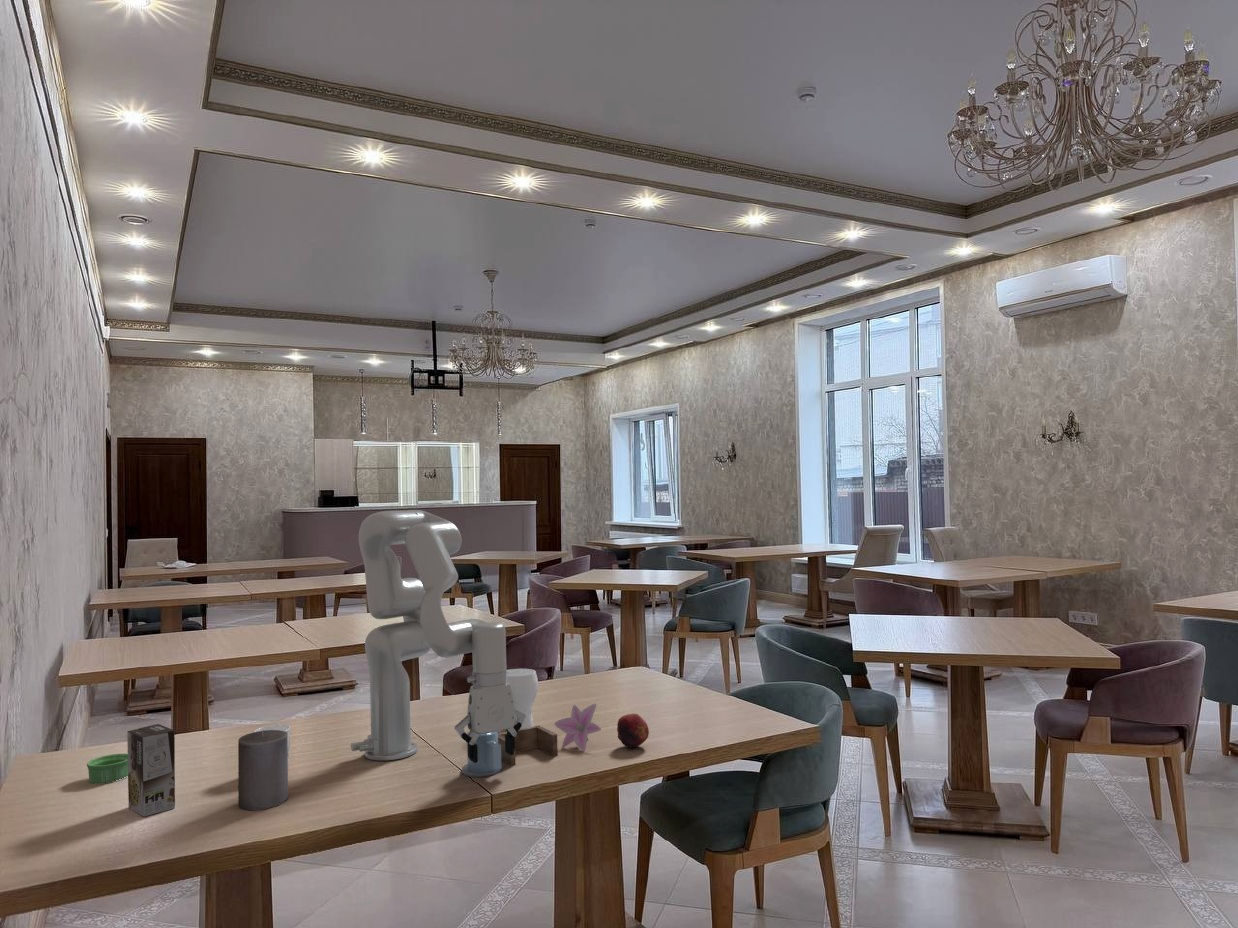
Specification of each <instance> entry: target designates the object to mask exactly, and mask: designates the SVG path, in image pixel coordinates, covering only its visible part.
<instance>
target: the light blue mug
mask: <svg viewBox="0 0 1238 928" xmlns="http://www.w3.org/2000/svg"><path fill="white" fill-rule="evenodd" d="M498 732H499V731H497V732H491V733H486V734H479V736H478V738H477V740H476V742H475V744H477V749H478V762H477V763H474V762H472V761H471V760H470V759H469V758H468V746H467V745H466V749H467V750H466V751H467V752H466V754H467V755H466V757H467V762H466V764H468V771H470V772H473V773H487V772H491V771H494V770H496V769H499V768H502V769H503V766H502V767H501V765H502V760H501V745H500V744H498ZM468 733H469V731H467V733H466V734H467V735H468Z"/></svg>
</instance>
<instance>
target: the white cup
mask: <svg viewBox="0 0 1238 928" xmlns="http://www.w3.org/2000/svg"><path fill="white" fill-rule="evenodd" d="M262 730H263V731H264V730H280V731H284V732H287V734H288V735H287V747H288V750H287V753H288V760H289V759H290V747H291V744H290V743H291V726H290V725H287V724H272V725H266V726H262V727H259V728H257V729H254V731H253V732H258V731H262Z"/></svg>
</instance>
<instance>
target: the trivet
mask: <svg viewBox="0 0 1238 928" xmlns="http://www.w3.org/2000/svg"><path fill="white" fill-rule="evenodd" d="M502 765H503V764H501V767H502V768H499V769H496V770H494V771H491V772H487V773H473V772H470V771H468V763H466V764H465V765H463V766H462V768H461V773H462V775H464V776H465V777H469V778H484V777H485V778H486V777H491V776H494V775H495V776H496V775H497V774H499V773H501V772H502V770H503V766H502Z"/></svg>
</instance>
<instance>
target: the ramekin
mask: <svg viewBox="0 0 1238 928" xmlns="http://www.w3.org/2000/svg"><path fill="white" fill-rule="evenodd" d="M86 767H87V770H88V778H89V779H88V780H89V782H90V784H94V783H105V784H107V783H106V782H111V783H113V782H112V781H116V780H119V779H122V778H124V777H126V776H128V753H112V754H106V755H103V756H102V755H101V756H98V757H95V758H93V759H90V760H89V761H88V762H86ZM126 778H127V777H126ZM122 780H123V779H122ZM119 781H120V780H119ZM116 782H117V781H116Z"/></svg>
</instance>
